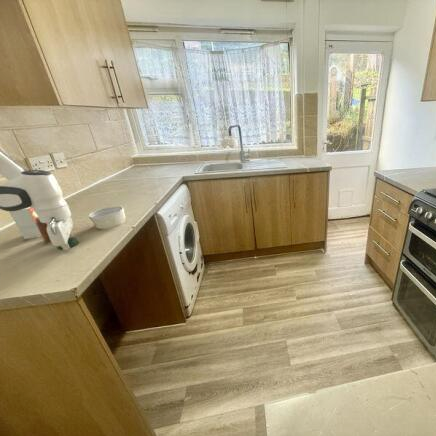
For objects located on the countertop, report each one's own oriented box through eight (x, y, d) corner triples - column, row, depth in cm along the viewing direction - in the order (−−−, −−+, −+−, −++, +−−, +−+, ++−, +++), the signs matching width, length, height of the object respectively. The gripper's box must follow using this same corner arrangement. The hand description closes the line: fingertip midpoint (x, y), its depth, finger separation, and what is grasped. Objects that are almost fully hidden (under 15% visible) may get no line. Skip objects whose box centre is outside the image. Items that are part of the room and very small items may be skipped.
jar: (44, 245, 98) (32, 221, 93) (46, 239, 102) (35, 216, 98) (63, 240, 101) (53, 217, 97) (65, 235, 105) (54, 213, 101)
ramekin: (108, 219, 121) (103, 206, 118) (134, 218, 120) (129, 205, 117) (87, 231, 109) (81, 217, 106) (115, 231, 108) (110, 216, 105)
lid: (81, 240, 99) (80, 236, 98) (75, 247, 94) (73, 243, 93) (62, 243, 97) (60, 238, 96) (54, 251, 92) (52, 246, 91)
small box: (43, 236, 104) (28, 208, 99) (24, 239, 103) (8, 211, 97) (52, 229, 111) (38, 202, 106) (35, 231, 110) (20, 204, 104)
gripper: (61, 221, 84) (76, 255, 89) (69, 204, 99) (81, 234, 105) (36, 225, 81) (53, 261, 86) (48, 208, 96) (62, 238, 102)
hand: (69, 246), depth 96 cm, fingers closed on lid, 6 cm apart
